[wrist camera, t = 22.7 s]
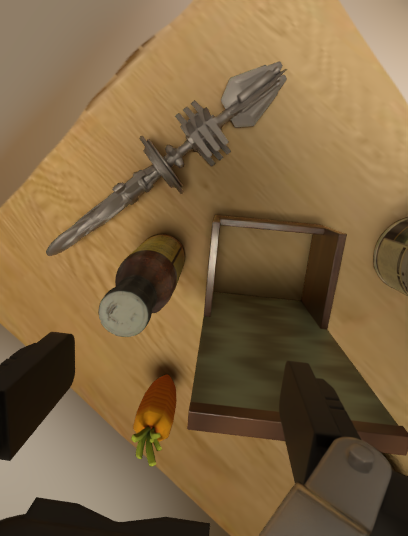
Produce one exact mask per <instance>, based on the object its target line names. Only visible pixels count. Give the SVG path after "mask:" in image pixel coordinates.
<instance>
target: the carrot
mask: <svg viewBox="0 0 408 536" xmlns="http://www.w3.org/2000/svg"><path fill="white" fill-rule="evenodd" d="M175 408H176V387H175V385H174V382H173V380H172V379H171V377H170V376H169V375H167V374H166V375H164V376H162V377H160V378H158V379H157V380H155V381H154V382H153V383H152V384H151V386H150V387H149V388H148V390H147V391H146V393H145V395H144V397H143V399H142V401H141V403H140V406H139V408H138V411H137V414H136V418H135V422H134V426H133V429H134V430H135V432H136V434H134V435H132V438H131V440H132V441H133V442H138V441H139V442H138V445H137V449H136V457H137V458H138V459H142V455H143V449H144V444H145V441H146V453H147V459H148V463H149V466H154V465H156V461H155V456H154V452H153V447H152V443H154V445H155V447H156V450H157V451H160V450H162V448H161V446H160V444H159V441H162V440H164V439H166V438H168V436H169V434H170V431H171V427H172V424H173V420H174V414H175Z"/></svg>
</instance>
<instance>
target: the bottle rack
mask: <svg viewBox="0 0 408 536" xmlns="http://www.w3.org/2000/svg"><path fill="white" fill-rule="evenodd" d="M220 225H225V226H236V227H246V228H257V229H267V230H278V231H288V232H299V233H309V234H313V236H312V242H311V248H310V253H309V259H308V265H307V270H306V276H305V282H304V287H303V293H302V299H301V301H296V300H286V299H276V298H267V297H257V296H247V295H237V294H228V293H218V292H213V289H214V279H215V269H216V259H217V249H218V239H219V229H220ZM346 236H347V234H344V233H342V232H339V231H336V230H333V229H331V228H328V227H325V226H323V225H318V224H307V223H297V222H286V221H275V220H265V219H254V218H243V217H233V216H222V215H215V216H214V219H213V223H212V234H211V244H210V255H209V265H208V276H207V287H206V297H205V308H204V318H203V324H202V331H201V337H200V344H199V350H198V357H197V363H196V370H195V376H194V383H193V389H192V396H191V402H190V407H189V415H188V426H187V429H188V430H197V431H205V432H213V433H222V434H230V435H239V436H247V437H255V438H264V439H272V440H280V441H285V437H284V432H283V428H282V424H281V419H280V414H279V399H280V393H281V387H282V381H283V375H284V369H285V364H286V362H287V361H296V362H304V363H309V365H310V367H311V369H312V371H313V373H314V375H315V377H316V378H320V379H324V380H325V381H326V382H327V383H328V384H329V385H331V386H332V387H333V388H334V389H335V391H336V393H337V395H338V397H339V399H340V401H341V402H342V404H343V406H344V408H345V410H346V412H347V414H348V415H349V417H350V419H351V421H352V423H353V425H354V427H355V429H356V430H357V432H358V434H359V436H360V438H361V440H362V441H365V442H367V443H369V444H370V445H372V446H373V447H375V448H376V449H377V450H379V451H380V452H381V453H389V454H397V455H406V454H407V451H408V432H407V431H406V430H405V428H404V427H403V426H398V424H397V423H396V422H395V420H394V419H393V418H392V416H391V415H390V414H389V412H388V411H387V409H386V408H385V407H384V405H383V404H382V403H381V401H380V400H379V399H378V397H377V396H376V395H375V393H374V392H373V391H372V389H371V388H370V387H369V385H368V384H367V383H366V381H365V380H364V378H363V377H362V376H361V374H360V373H359V372H358V370H357V369H356V368H355V366H354V365H353V364H352V362H351V361H350V360H349V358H348V357H347V356H346V354H345V353H344V351H343V350H342V349H341V347H340V346H339V345H338V343H337V342H336V341H335V339H334V338H333V337H332V335H331V334H330V333H329V331H328V330H327V328H328V324H329V319H330V314H331V309H332V304H333V299H334V294H335V289H336V284H337V280H338V275H339V270H340V265H341V260H342V255H343V250H344V245H345V240H346Z"/></svg>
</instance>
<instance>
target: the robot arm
mask: <svg viewBox="0 0 408 536" xmlns="http://www.w3.org/2000/svg"><path fill="white" fill-rule="evenodd" d="M74 375H75V339H74V336H73V335H72V334H67V333H59V332H50V333H49V334H48V335H46V336H45V337H44V338H42V339H41V340H40V341H39V342H37V343H33V344H31V345H29V346H26V347H24V348H22V349H20V350H18V351H17V352H16V353H14V354H13V355H12V356H10V358H9V359H6V360H5V361H4V362H2V363H1V365H0V459H1V460H8V461H10V460H11V459H12V458H13V457H14V455H15V454H16V453H17V452H18V451H19V449H20V448H21V447H22V446H23V445H24V443H25V442H26V441H27V440H28V438H29V437H30V436H31V435H32V434H33V432H34V431H35V430H36V429H37V427H38V426H39V425H40V424H41V422H42V421H43V420H44V419H45V418H46V416H47V415H48V414H49V413H50V411H51V410H52V409H53V408H54V407H55V405H56V404H57V403H58V402H59V400H60V399H61V398H62V397H63V395H64V394H65V393H66V392H67V391H68V389H69V388H70V386H71V385H72V382H73V379H74ZM279 414H280V419H281V424H282V428H283V432H284V437H285V441H286V446H287V450H288V454H289V459H290V463H291V468H292V472H293V476H294V481H295V484H294V486H293V487H292V488H291V490H290V491H289V493H288V494H287V496H286V497H285V498H284V500H283V501H282V503H281V504H280V506H279V507H278V508H277V510H276V511H275V513H274V514H273V516H272V517H271V518H270V520H269V521H268V523H267V524H266V526H265V527H264V528H263V530H262V531H261V533H260V534H259V536H408V477H407V476H405V475H402V474H400V473H397V472H395V471H393V470H392V469H391V466H390V464H389V462H388V460H387V459H386V458H385V456H384V455H383V454H382V453H381V452H380V451H379V450H377V449H376V448H375V447H373V446H372V445H370V444H369V443H367V442H365V441H362V440H361V438H360V436H359V434H358V432H357V430H356V429H355V427H354V425H353V423H352V421H351V419H350V417H349V415H348V414H347V412H346V410H345V408H344V406H343V404H342V402H341V401H340V399H339V397H338V395H337V393H336V391H335V389H334V388H333V387H332V386H331V385H329V384H328V383H327V382H326V381H325V380H324V379H320V378H316V377H315V375H314V373H313V371H312V369H311V367H310V365H309V363H304V362H296V361H287V362H286V364H285V369H284V375H283V381H282V387H281V393H280V399H279ZM209 527H210V523H203V522H197V521H190V520H183V519H177V518H169V517H161V518H153V519H144V520H136V521H127V522H116V521H113V520H111V519H109V518H107V517H104V516H102V515H100V514H98V513H96V512H94V511H92V510H90V509H88V508H86V507H84V506H82V505H80V504H77V503H71V502H64V501H57V500H51V499H44V498H38V497H36V499H35V500H34V502H33V503H32V505H31V506H30V508H29V510H28V511H27V513H26V514H23V515H17V516H13V517H9V518H6V519H3V520H0V536H209V529H210V528H209Z"/></svg>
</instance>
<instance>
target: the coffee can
mask: <svg viewBox="0 0 408 536" xmlns="http://www.w3.org/2000/svg"><path fill="white" fill-rule="evenodd" d="M374 267H375V270H376V272H377V274H378V276H379V277H380V279H381V280H382V281H383V282H384V283H385V284H387V285H388V286H390V287H391V288H394V289H396V290H398V291H400V292H401V293H403V294H405V295H406V296H408V217H407V218H404V219H402V220H399V221H397V222H396V223H394V224H393V225H391V226H390V227H389V228H388V229H387V230H386V231H385V232H384V233H383V234H382V235H381V237H380V238H379V240H378V242H377V244H376V247H375V251H374Z"/></svg>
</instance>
